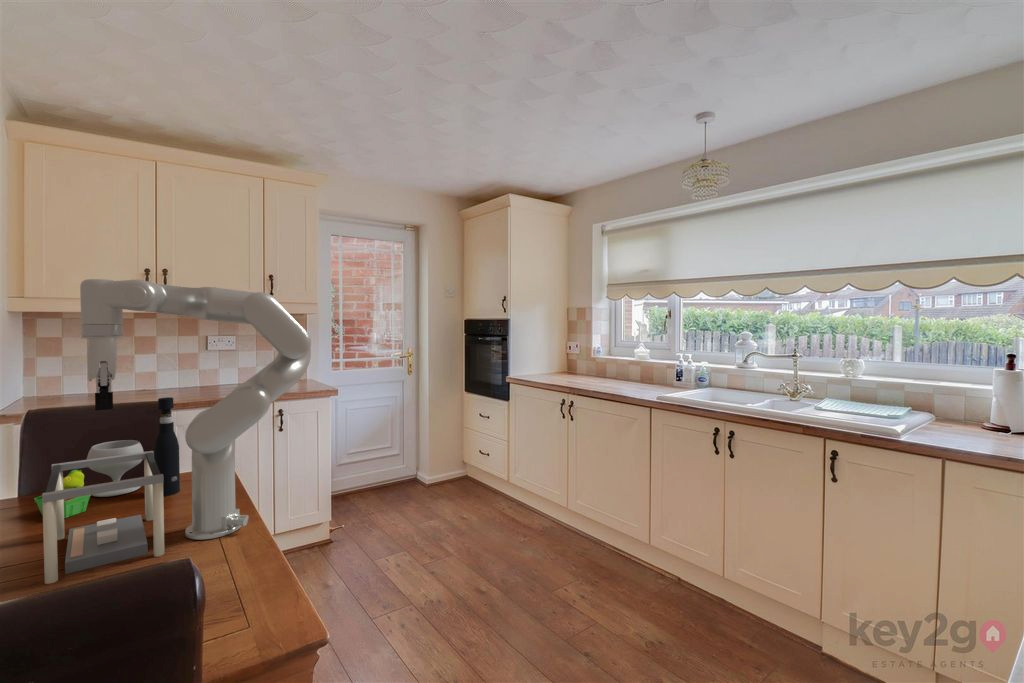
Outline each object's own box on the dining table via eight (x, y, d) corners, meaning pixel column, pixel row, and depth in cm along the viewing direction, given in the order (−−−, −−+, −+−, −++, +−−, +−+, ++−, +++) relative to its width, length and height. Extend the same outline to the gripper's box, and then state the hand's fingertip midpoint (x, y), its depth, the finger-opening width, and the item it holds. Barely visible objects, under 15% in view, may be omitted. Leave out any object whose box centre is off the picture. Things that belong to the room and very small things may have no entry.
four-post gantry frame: (53, 538, 119) (52, 470, 118) (154, 517, 132) (152, 456, 131) (44, 585, 98) (42, 503, 97) (164, 554, 111) (163, 482, 110)
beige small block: (97, 528, 117) (97, 521, 117) (116, 524, 119) (116, 517, 119) (97, 533, 116) (97, 526, 115) (116, 529, 118) (116, 522, 118)
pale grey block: (97, 539, 111) (96, 532, 111) (117, 535, 113) (117, 528, 113) (97, 545, 110) (97, 537, 109) (117, 540, 112) (117, 533, 112)
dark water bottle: (159, 490, 153) (157, 397, 152) (182, 488, 155) (181, 396, 154) (151, 497, 147) (149, 400, 146) (175, 495, 149) (173, 399, 147)
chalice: (112, 501, 144) (111, 451, 143) (75, 497, 146) (73, 448, 146) (155, 485, 157) (154, 440, 157) (120, 482, 160) (119, 438, 160)
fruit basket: (32, 516, 132) (31, 476, 131) (68, 504, 140) (67, 466, 140) (63, 520, 129) (62, 479, 129) (98, 508, 138) (97, 469, 137)
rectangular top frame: (52, 470, 118) (51, 463, 118) (152, 456, 131) (152, 450, 131) (42, 503, 97) (41, 495, 97) (163, 482, 110) (163, 475, 110)
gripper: (82, 331, 116) (83, 406, 117) (80, 332, 105) (82, 416, 105) (121, 331, 121) (123, 403, 122) (124, 332, 110) (125, 412, 110)
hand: (104, 409), depth 114 cm, fingers closed
